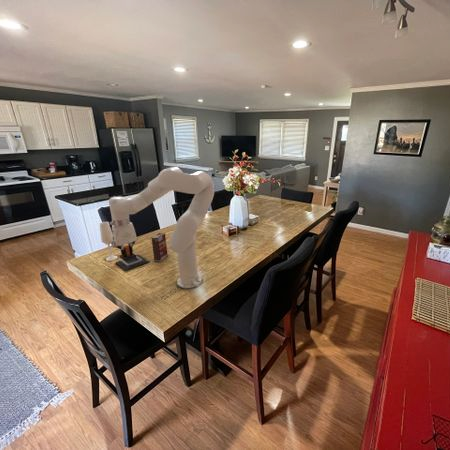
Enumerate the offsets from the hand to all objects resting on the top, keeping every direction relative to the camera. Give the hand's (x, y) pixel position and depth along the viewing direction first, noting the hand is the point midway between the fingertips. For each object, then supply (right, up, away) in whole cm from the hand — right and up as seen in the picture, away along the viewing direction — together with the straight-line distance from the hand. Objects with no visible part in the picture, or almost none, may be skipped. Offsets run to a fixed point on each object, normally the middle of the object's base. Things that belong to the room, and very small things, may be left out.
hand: (127, 254), depth 125 cm
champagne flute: (-25, -6, +28) cm, 38 cm away
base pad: (-9, -8, +23) cm, 26 cm away
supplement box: (+7, -6, +29) cm, 30 cm away
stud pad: (0, -2, +1) cm, 2 cm away
